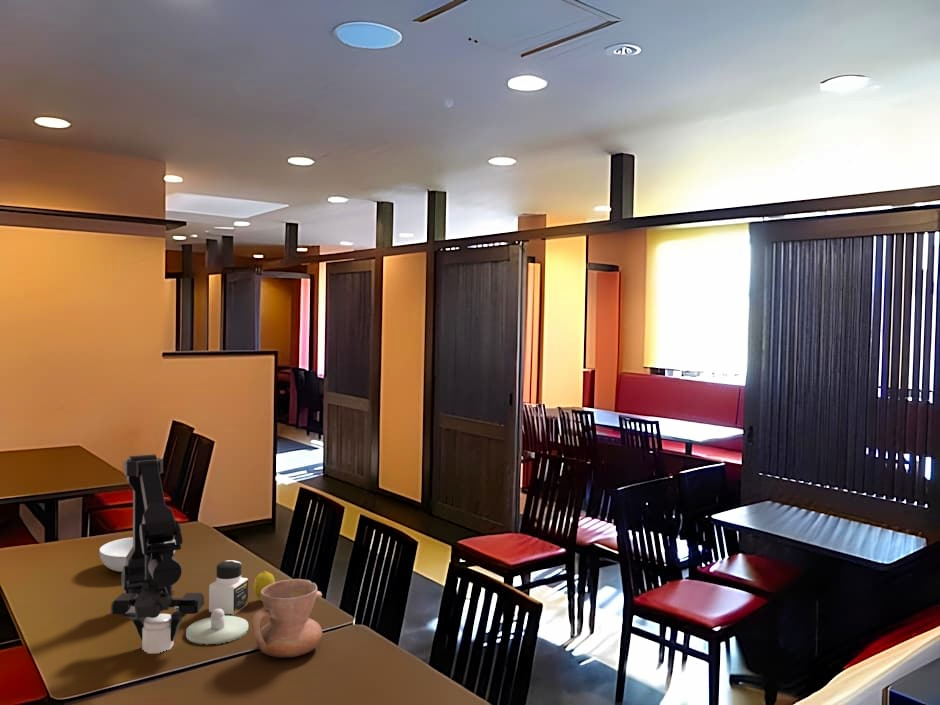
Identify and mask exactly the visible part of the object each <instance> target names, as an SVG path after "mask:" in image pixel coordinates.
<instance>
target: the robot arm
mask: <svg viewBox="0 0 940 705" xmlns="http://www.w3.org/2000/svg"><path fill="white" fill-rule="evenodd" d="M163 473H164V458H161V457H158V458H157V455H156V454H153V453H152V454H139V455H129V456H128V459H127V460H124V461H123V475H124V476H125V477H126V481H127V483H129V485H130V487H131V488H132V537H133V547H132V549H131V550H130V552H129V553H128V555H127V556H126V566H123V570H122V572H121V576H120V579H121V580H120V581H121V582H120V584H121V587H122V589H123V591H125V592H124V593H123V592H121V594H120V595H119V596H117V597H116V598H115V599H114V600H113V601H112V602H111V605H110V614H111V615H123V617H124V618H127V619H129V620H130V621H132V622H133V624H134V626H135V628H136V630H137V633H138V635H139V638H140V641H142V628H143V627H144V619H145V618H147V617H150V618H155V617H157V616H158V615H159V614H161V612H163V611H168V610H169V609H170V608H174V611H173V612H172V613H171V614H170V615H171V618H172V627H171V641H173V640H175V638H176V635H177V633H178V630H179V628H180V624H181V622H182V620H183V619H184V617H186V616H187V615H195V614H198V613H199V612H200V610H201V609H202V607H203V606H204V605H205V596H204V594H203V593H202V592H186V593H184V595H183V596H182V597H181V598H177V597H176V598H175V597H173V596H174V595H175V594H174V593H175V591H174V589H173V585H174V584H176V583H177V582H178V581H179V580H180V579H181V577H182V566H181V565H180V563H179V562H178V560H177V559H176V557H175V553H174V550H175V551H179V550H182V546H181V545H182V544H183V536H182V530H181V524H179V520H178V519H176V518H175V515H174V512H173V509H172V508H170V507H168V506H167V505H166V501H165V495H164V490H163V485H162V480H161V478H162V477H161V474H163ZM173 539H174V540H175V542H176V544H175V542H171V543H164V542H170V541H173Z"/></svg>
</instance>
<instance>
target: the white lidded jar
mask: <svg viewBox="0 0 940 705" xmlns="http://www.w3.org/2000/svg"><path fill="white" fill-rule="evenodd" d="M171 615H172V614H169V613H160V614H159V615H158V616H157V617H155V618H150V617H146V618H145V619H144V627H143V628H142V640H141V650H142V651H143V650H144V651H143V652H145V653H146V652H147V653H146V654H161V653H164V652H166V650H167V651H169V650H171V649H172V647H173V646H174V645H175V644H174V643H175V641H174V640H175V639H174V640H173V641H171V627H172V618H171ZM163 651H164V652H163ZM160 652H161V653H160Z"/></svg>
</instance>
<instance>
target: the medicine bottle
mask: <svg viewBox="0 0 940 705" xmlns="http://www.w3.org/2000/svg"><path fill="white" fill-rule="evenodd" d="M248 604H249V579H248V578H247V577H242V563H241V562H240V561H237V560H234V559H233V560H232V559H231V560H224V561H221V562H219V563H218V564H217V565H216V580H215V581H213V582H211V583H210V584H209V586H208V612H209V613H212V612H213V611H214V610H215V609H222V610H223V611H224V614H225V615H230V614H231V615H230V616H235V614H237V613H239V612H240V611H241V610H243V609H244V608H245V607H246V606H248Z"/></svg>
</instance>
